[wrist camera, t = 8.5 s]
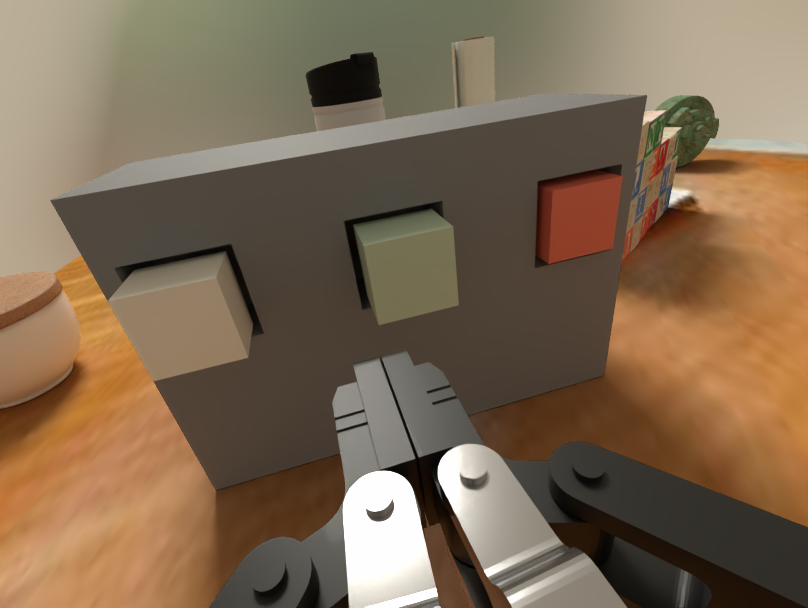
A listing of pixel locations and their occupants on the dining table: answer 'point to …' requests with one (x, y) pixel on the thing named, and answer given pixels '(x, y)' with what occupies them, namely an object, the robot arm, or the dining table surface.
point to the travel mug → (346, 92)
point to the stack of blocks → (652, 176)
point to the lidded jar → (35, 336)
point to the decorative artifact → (690, 124)
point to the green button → (408, 264)
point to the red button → (576, 214)
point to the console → (341, 268)
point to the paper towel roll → (473, 71)
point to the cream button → (184, 315)
